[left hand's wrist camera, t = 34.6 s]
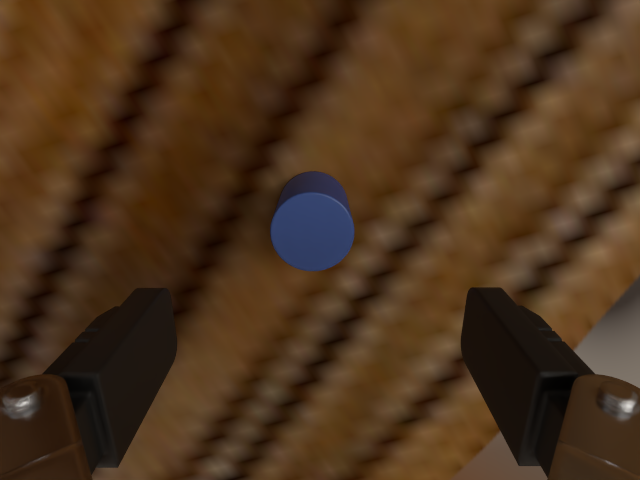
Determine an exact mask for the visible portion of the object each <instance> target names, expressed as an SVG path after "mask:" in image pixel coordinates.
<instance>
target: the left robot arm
mask: <svg viewBox="0 0 640 480" xmlns="http://www.w3.org/2000/svg"><path fill="white" fill-rule="evenodd" d="M176 351H177V336H176V329H175V322H174V315H173V308H172V302H171V296H170V292H169V290H168V289H166V288H137V289H135V290H134V291H133V293H132V294H131V295H130V296H129V297H128V298H127V299H126V300H125V301H124V302H123V304H122V305H121V306H120V307H114V308H112V309H110V310H108V311H107V312H105V313H103V314H102V315H100V316H98V317H97V318H96V319H95V320H94V321H93V322H92V323H91V324H90V325H89V326H88V327H87V328H86V329H85V332H82V333H81V334H80V335H79V336H78V337H77V339H76V340H75V343H72V344H71V345H70V346H69V347H68V348H67V349H66V350H65V351H64V352H63V353H62V354H61V355H60V356H59V357H58V358H57V359H56V360H55V361H54V362H53V363H52V364H51V366H50V367H49V368H48V369H47V370H46V371H45V372H44V373H43V374H42V375H35V376H30V377H26V378H23V379H20V380H17V381H15V382H12V383H10V384H8V385H6V386H4V387H2V388H0V480H92V476H91V475H92V473H93V471H94V470H95V468H118V466H119V464H120V462H121V461H122V459H123V457H124V455H125V453H126V451H127V449H128V447H129V445H130V444H131V442H132V440H133V438H134V436H135V434H136V432H137V430H138V428H139V427H140V425H141V423H142V421H143V419H144V417H145V415H146V413H147V411H148V410H149V408H150V406H151V404H152V402H153V400H154V398H155V396H156V394H157V393H158V391H159V389H160V387H161V385H162V383H163V381H164V379H165V377H166V376H167V374H168V372H169V370H170V368H171V366H172V364H173V362H174V360H175V356H176ZM461 351H462V356H463V359H464V362H465V364H466V366H467V368H468V370H469V371H470V373H471V375H472V377H473V379H474V381H475V383H476V385H477V387H478V389H479V391H480V392H481V394H482V396H483V398H484V400H485V402H486V404H487V406H488V408H489V410H490V412H491V414H492V415H493V417H494V419H495V421H496V423H497V425H498V427H499V429H500V431H501V433H502V434H503V436H504V438H505V440H506V442H507V444H508V446H509V448H510V450H511V452H512V454H513V456H514V457H515V459H516V461H517V463H518V465H519V466H541V467H542V469H543V471H544V472H545V474H546V476H547V478H548V480H640V388H638V387H636V386H634V385H632V384H630V383H628V382H625V381H623V380H620V379H617V378H614V377H610V376H605V375H598V374H595V373H594V372H593V371H592V370H591V369H590V368H589V367H588V366H587V365H586V364H585V363H584V362H583V361H582V360H581V359H580V358H579V357H578V355H577V354H576V353H575V352H574V351H573V350H572V349H571V348H570V347H569V346H568V345H567V344H566V343H565V342H562V339H561V338H560V337H559V336H558V335H557V333H556V332H555V331H552V328H551V327H550V326H549V325H548V324H547V323H546V322H545V321H544V320H543V319H542V318H541V317H540V316H539V315H537V314H535V313H534V312H532V311H530V310H528V309H527V308H525V307H523V306H517V305H516V304H515V302H514V301H513V300H512V299H511V298H510V297H509V296H508V295H507V294H506V292H505V291H504V290H503V289H502V288H470V289H469V291H468V294H467V299H466V306H465V313H464V320H463V327H462V334H461Z"/></svg>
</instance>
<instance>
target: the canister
mask: <svg viewBox="0 0 640 480" xmlns="http://www.w3.org/2000/svg"><path fill="white" fill-rule="evenodd" d="M270 236H271V241H272V244H273V247H274V249H275V251H276V252H277V253H278V255H279V256H280V257H281V258H282V259H283V260H284V261H285V262H286V263H288V264H289V265H291V266H293V267H295V268H298V269H301V270H305V271H320V270H324V269H327V268H330V267H332V266H334V265H336V264H337V263H338V262H340V261H341V260H342V259H343V258H344V257H345V256H346V255H347V253H348V252H349V250H350V248H351V246H352V243H353V239H354V224H353V220H352V216H351V212H350V208H349V205H348V201H347V197H346V194H345V191H344V189H343V187H342V186H341V185H340V183H339V182H338V181H337V180H336V179H334V178H333V177H331V176H329V175H327V174H325V173H321V172H305V173H302V174H299V175H297V176H296V177H294V178H293V179H291V180H290V181H289V182H288V183H287V184H286V186H285V187H284V189H283V191H282V193H281V196H280V199H279V201H278V204H277V207H276V210H275V213H274V216H273V218H272V222H271V227H270Z"/></svg>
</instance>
